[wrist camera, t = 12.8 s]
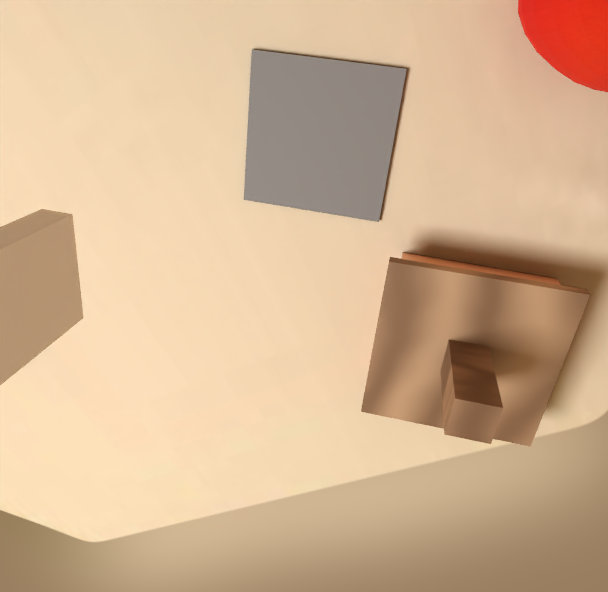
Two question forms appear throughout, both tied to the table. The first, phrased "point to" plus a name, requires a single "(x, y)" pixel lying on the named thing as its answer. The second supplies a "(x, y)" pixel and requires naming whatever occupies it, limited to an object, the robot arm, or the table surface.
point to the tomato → (570, 37)
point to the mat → (321, 133)
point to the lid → (469, 350)
